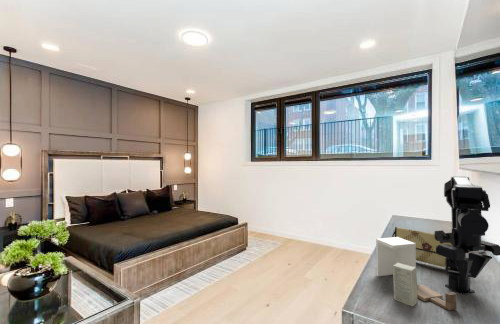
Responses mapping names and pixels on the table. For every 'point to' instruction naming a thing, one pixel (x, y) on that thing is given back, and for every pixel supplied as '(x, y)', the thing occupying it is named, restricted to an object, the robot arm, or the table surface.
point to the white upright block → (393, 254)
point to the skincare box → (405, 283)
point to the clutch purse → (423, 246)
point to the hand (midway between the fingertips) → (468, 277)
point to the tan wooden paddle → (437, 297)
